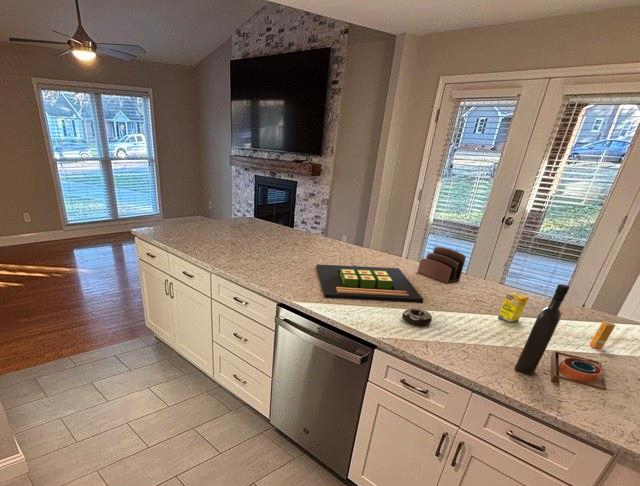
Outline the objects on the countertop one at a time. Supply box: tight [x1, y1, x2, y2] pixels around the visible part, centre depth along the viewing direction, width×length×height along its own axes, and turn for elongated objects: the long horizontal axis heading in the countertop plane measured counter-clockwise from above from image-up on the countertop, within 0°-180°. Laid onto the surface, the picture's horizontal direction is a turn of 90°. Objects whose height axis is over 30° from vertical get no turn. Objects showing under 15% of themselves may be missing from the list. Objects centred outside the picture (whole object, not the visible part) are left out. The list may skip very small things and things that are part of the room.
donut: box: [401, 307, 433, 327], centre depth 171 cm, size 12×12×4 cm
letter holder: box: [417, 246, 467, 284], centre depth 218 cm, size 10×20×14 cm, turn 30°
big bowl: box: [557, 356, 604, 384], centre depth 136 cm, size 11×11×5 cm
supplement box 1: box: [497, 291, 530, 324], centre depth 174 cm, size 6×6×11 cm
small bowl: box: [570, 361, 596, 374], centre depth 136 cm, size 7×7×4 cm
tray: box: [550, 350, 607, 391], centre depth 139 cm, size 14×20×2 cm
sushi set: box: [316, 263, 424, 304], centre depth 207 cm, size 45×45×4 cm
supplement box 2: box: [589, 320, 617, 350], centre depth 155 cm, size 3×3×10 cm
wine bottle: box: [514, 283, 570, 376], centre depth 133 cm, size 6×6×30 cm
